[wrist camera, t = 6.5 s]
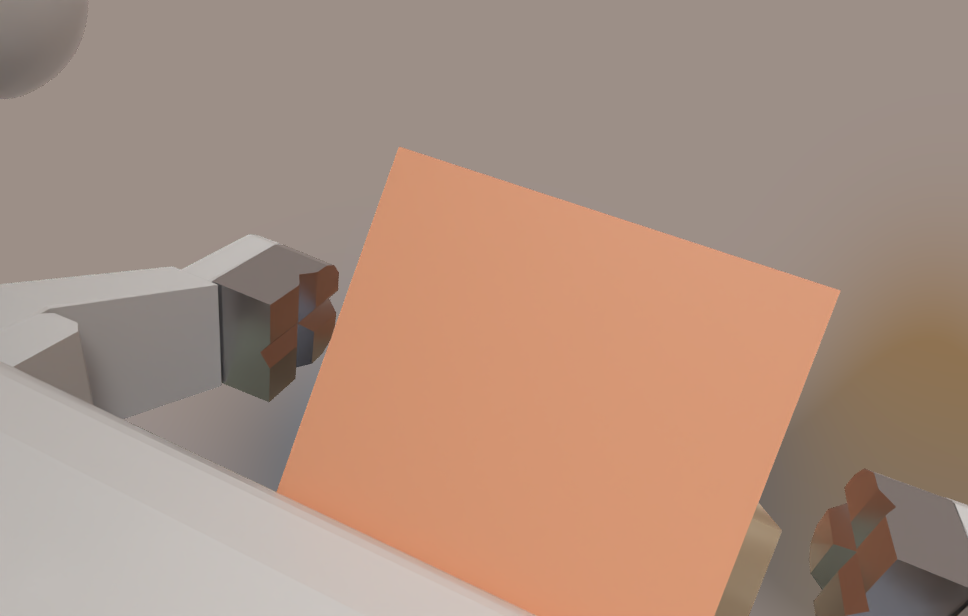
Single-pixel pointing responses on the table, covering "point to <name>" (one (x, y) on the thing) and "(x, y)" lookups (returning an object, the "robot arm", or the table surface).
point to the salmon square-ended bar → (553, 396)
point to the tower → (750, 565)
